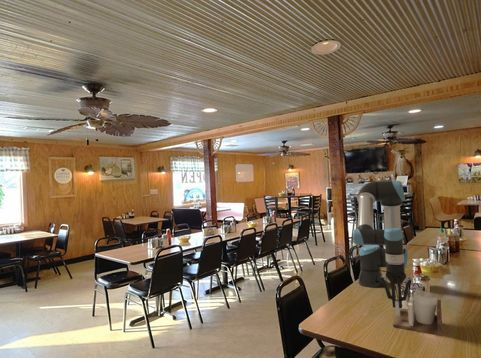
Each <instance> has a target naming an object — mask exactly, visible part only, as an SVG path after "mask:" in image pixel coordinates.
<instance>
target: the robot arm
mask: <svg viewBox="0 0 481 358" xmlns="http://www.w3.org/2000/svg"><path fill="white" fill-rule="evenodd" d="M405 197H406V196H405V192H404V188H403V182H402V181H400V180H380V181H378V180H377V181H371V182H368V183H366V184H364V185H363V186H362V187H360V190H358V193H357V197H356V200H357V203H358V212H357V213H358V214H357V215H358V216H357V228H356V229H353V230H352V241H353V243H354V244H355V245H361V247H360V248H359V261H360V263H359V264H360V272H359V276H358V281H357V282H358V284H359V285H360V286H364V287H369V288H379V287H384V289H385V293H386V296H387V299H389V300H392V308H395V317H396V316H400V310H403V302H404V301H407V297H408V292H409V287H410V285H411V283H412V281H413V280H412V278H409V277H407V274H406V271H405V268H406V267H407V265H408V258H409V257H408V256H409V254H408V249H407V248H406V246H405V245H404V236H403V235H404V234H403V230H402V223H401V206H402V205H403V202H404V201H406V198H405ZM375 202H380V205H381V206H382V207H383V218H384V219H383V220H384V229H381V228H379V229H374V204H375ZM362 245H363V246H362ZM381 246H382V247H381ZM381 268H385V269H386V272H385V274H384V275H383V273H382V269H381ZM387 280H388V281H389V282H390V285H391V290H390V286H389V284H388V281H387ZM404 281H405V287H404V288H405V289H404V291H402V284H403V283H404ZM396 285H397V295H398V296H397V295H396ZM402 292H403V293H402ZM397 297H398V298H397Z"/></svg>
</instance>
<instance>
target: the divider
mask: <svg viewBox="0 0 481 358" xmlns="http://www.w3.org/2000/svg"><path fill="white" fill-rule="evenodd" d="M413 297H414V296H409V300H408V303H407V311H408V318H409V326H413V324H414V319H415V308H414V301H413Z"/></svg>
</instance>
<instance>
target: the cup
mask: <svg viewBox="0 0 481 358" xmlns="http://www.w3.org/2000/svg"><path fill="white" fill-rule="evenodd" d="M412 297H413V301H414V308H415V315H416V320H417V321H418V322H420V323H422V324H427V325H430V324H433V322H434V317H435V315H436V312H437V300H438V298H437V297H438V296H437V295H436V293H432V292H430V291H426V290H415V291H414V292H413V296H412Z"/></svg>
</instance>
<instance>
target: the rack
mask: <svg viewBox="0 0 481 358" xmlns="http://www.w3.org/2000/svg"><path fill="white" fill-rule="evenodd" d="M442 318H443V316H442V300H441V299H437V306H436V314H435V317H434V322H433V324H430V325H427V324H422V323H420V322H418V321H417V320H416V315H415V319H414V324H413V326H409V318H408V310H404V309H400V316H396V315H395V318H394V321H393V324H392V325H393V328H396V329H403V330H408V331H414V332H419V333H423V334H425V333H426V334H430V335H431V334H432V335H436V336H442V335H443V334H442V332H443V319H442Z"/></svg>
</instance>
